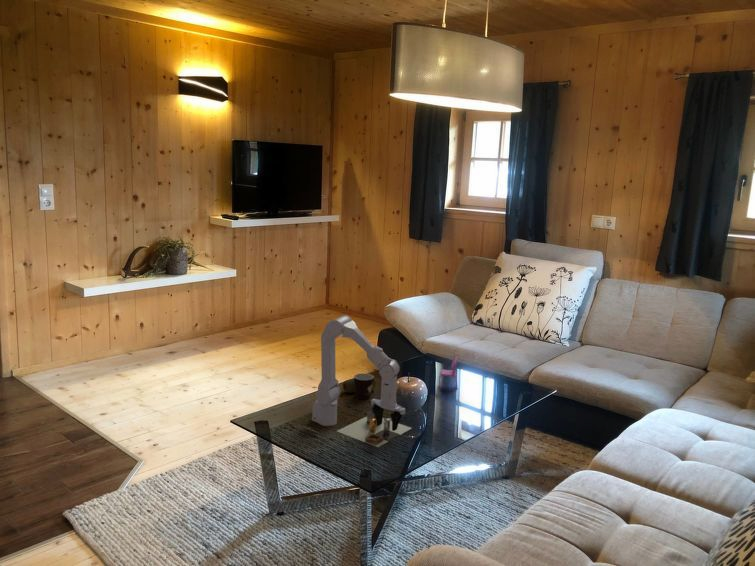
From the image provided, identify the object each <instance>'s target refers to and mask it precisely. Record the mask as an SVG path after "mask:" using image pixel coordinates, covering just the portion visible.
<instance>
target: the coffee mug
mask: <svg viewBox="0 0 755 566" xmlns="http://www.w3.org/2000/svg"><path fill="white" fill-rule="evenodd" d="M353 378H354V384H355V398H356V399H359V400H368V399H370V398H371V395H372V390H373V389H372V384H373V382H374V378H375V376H374V375H373V374H369V373H364V372H362V373H356V374H354V375H353Z"/></svg>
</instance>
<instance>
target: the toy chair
mask: <svg viewBox="0 0 755 566" xmlns="http://www.w3.org/2000/svg"><path fill="white" fill-rule="evenodd" d="M457 359H458V356H454V357H453V359H452V362H451V370H450V369H441V370H440V371H439V376H438V377H439V379H438V382H439V384H438V385H439V390H441V389H442V388H441V377H451V378H452V377H453V378H455V385H456V390H457V391H458V390H459V388H457V387H458V381H457V372H456V369H457Z"/></svg>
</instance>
